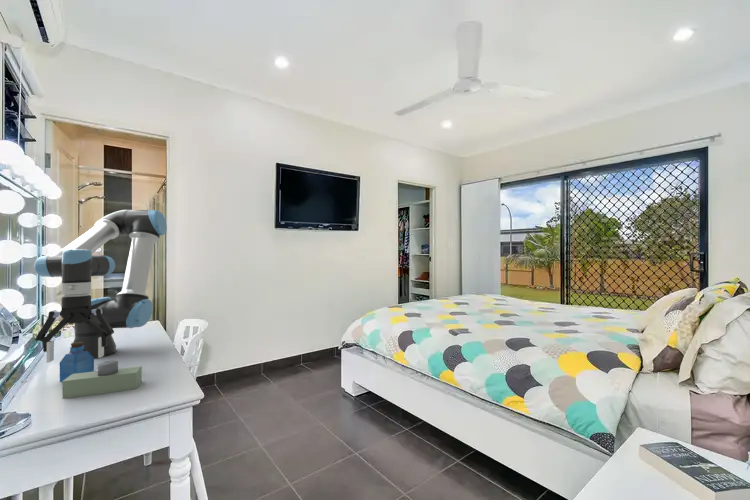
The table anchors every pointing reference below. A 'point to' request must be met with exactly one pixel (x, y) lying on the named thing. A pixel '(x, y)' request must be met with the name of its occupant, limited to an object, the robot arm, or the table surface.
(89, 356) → the perfume bottle
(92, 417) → the table surface
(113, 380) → the green slab with knob
